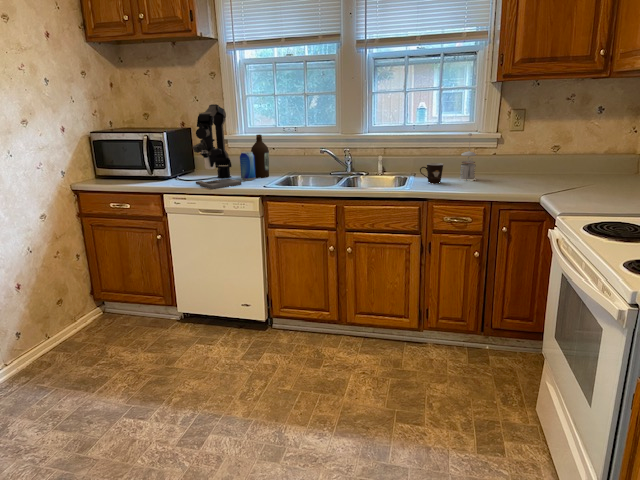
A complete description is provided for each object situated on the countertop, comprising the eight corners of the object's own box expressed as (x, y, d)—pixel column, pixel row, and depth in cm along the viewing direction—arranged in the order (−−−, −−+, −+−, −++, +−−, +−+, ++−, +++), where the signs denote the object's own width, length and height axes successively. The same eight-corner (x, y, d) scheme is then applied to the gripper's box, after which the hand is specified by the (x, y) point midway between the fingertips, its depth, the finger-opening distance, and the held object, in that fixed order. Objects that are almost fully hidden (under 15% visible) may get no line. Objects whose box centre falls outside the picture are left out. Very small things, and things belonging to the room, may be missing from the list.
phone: (201, 182, 275) (201, 180, 275) (207, 184, 270) (206, 182, 270) (195, 183, 273) (195, 181, 273) (201, 185, 268) (201, 183, 268)
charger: (211, 167, 266) (210, 156, 264) (215, 168, 263) (214, 157, 261) (205, 168, 263) (204, 157, 261) (208, 169, 260) (207, 158, 258)
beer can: (258, 179, 282) (257, 151, 278) (247, 181, 276) (245, 153, 272) (249, 177, 288) (247, 151, 283) (238, 179, 282) (236, 152, 277)
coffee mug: (443, 181, 260) (444, 163, 257) (440, 184, 252) (441, 165, 249) (422, 180, 264) (423, 162, 261) (418, 183, 257) (419, 164, 254)
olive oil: (250, 178, 287) (247, 135, 280) (255, 175, 297) (253, 134, 290) (267, 178, 285) (264, 135, 278) (272, 175, 295) (270, 133, 288)
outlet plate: (228, 181, 276) (228, 178, 276) (241, 184, 266) (241, 181, 265) (200, 186, 265) (199, 182, 265) (212, 189, 255) (211, 185, 254)
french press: (474, 177, 269) (477, 132, 261) (479, 181, 258) (482, 134, 250) (456, 178, 270) (459, 132, 262) (460, 181, 259) (463, 134, 251)
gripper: (185, 137, 260) (188, 166, 265) (201, 139, 246) (204, 169, 251) (204, 136, 267) (207, 164, 271) (220, 137, 253) (223, 167, 257)
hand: (210, 166), depth 263 cm, fingers closed on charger, 4 cm apart
